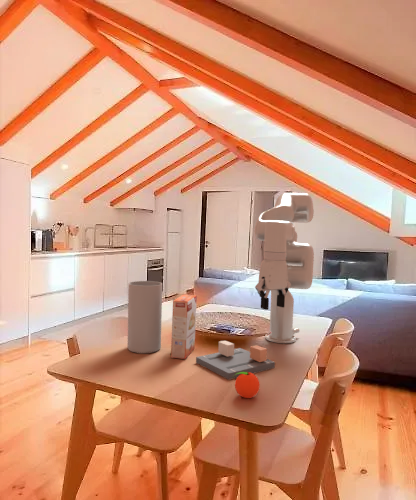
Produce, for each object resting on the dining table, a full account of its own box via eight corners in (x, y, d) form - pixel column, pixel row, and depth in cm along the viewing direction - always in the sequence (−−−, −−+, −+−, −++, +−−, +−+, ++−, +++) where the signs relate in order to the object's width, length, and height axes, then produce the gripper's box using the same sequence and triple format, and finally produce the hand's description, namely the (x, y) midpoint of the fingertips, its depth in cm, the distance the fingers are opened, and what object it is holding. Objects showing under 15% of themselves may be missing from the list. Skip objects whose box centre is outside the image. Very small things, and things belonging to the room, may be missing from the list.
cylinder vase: (138, 356, 147) (140, 287, 145) (121, 347, 156) (122, 282, 154) (167, 349, 155) (168, 284, 153) (149, 342, 164) (150, 280, 163)
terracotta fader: (256, 356, 143) (256, 345, 143) (266, 360, 139) (266, 348, 139) (249, 357, 141) (250, 346, 141) (260, 362, 137) (260, 350, 137)
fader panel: (239, 353, 154) (240, 347, 154) (274, 367, 139) (274, 361, 139) (196, 362, 142) (196, 356, 142) (229, 379, 127) (229, 373, 127)
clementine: (227, 398, 114) (228, 373, 113) (235, 389, 120) (235, 365, 120) (255, 404, 111) (256, 378, 110) (261, 394, 117) (262, 370, 117)
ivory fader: (224, 351, 147) (225, 340, 147) (233, 355, 143) (234, 344, 143) (218, 352, 146) (218, 341, 145) (227, 356, 142) (227, 345, 141)
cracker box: (186, 360, 144) (188, 301, 143) (170, 358, 146) (171, 300, 144) (195, 348, 158) (197, 294, 157) (180, 346, 159) (182, 293, 158)
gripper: (284, 255, 149) (282, 303, 151) (248, 256, 139) (246, 308, 140) (300, 257, 143) (297, 307, 145) (264, 258, 133) (261, 312, 134)
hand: (272, 307), depth 142 cm, fingers open, 7 cm apart
